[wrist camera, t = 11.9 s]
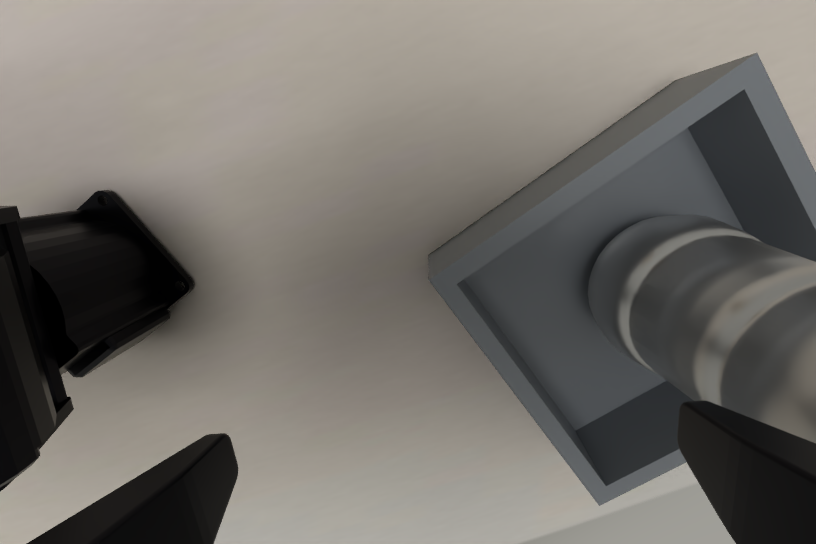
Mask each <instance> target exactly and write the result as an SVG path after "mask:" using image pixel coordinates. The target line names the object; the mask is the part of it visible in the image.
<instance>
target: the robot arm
mask: <svg viewBox="0 0 816 544" xmlns="http://www.w3.org/2000/svg"><path fill="white" fill-rule="evenodd" d="M104 197H106V199H107V201H108V203H107V204H106V203H105V201H104ZM180 281H181V282H183V283H184V285H185V288H183V287H181V285H180ZM193 286H194V284H193V281H192V279H191V278H190V277H189V276H188V275H187V273H186V272H185V271H184V270H183V269H182V268H181V267H180V266H179V265H178V263H177V262H176V261H175V260H174V259H173V258H172V257H171V256H170V254H169V253H168V252H167V251H166V250H165V249H164V248H163V247H162V246H161V244H160V243H159V242H158V241H157V240H156V239H155V238H154V237H153V236H152V234H151V233H150V232H149V231H148V230H147V229H146V228H145V227H144V226H143V224H142V223H141V222H140V221H139V220H138V219H137V218H136V217H135V216H134V214H133V213H132V212H131V211H130V210H129V209H128V208H127V207H126V206H125V204H124V203H123V202H122V201H121V200H120V199H119V198H118V197H117V196H116V194H114V193H113V192H112V191H109V190H103V191H97V192H95V193H94V194H93V195H92V196H91V197H90V198H89V199H88V200H87V201H86V202H85V203H83V204H82V205H81V206H80V207H79V208H78V209H77V210H76V211H69V212H61V213H54V214H46V215H38V216H31V217H23V218H20V216H19V212H18V209H17V206H0V491H1V490H3V489H4V488H5V487H6V486H7V485H8V484H9V483H11V482H12V481H13V480H14V479H15V478H16V477H17V476H19V475H20V474H21V473H22V472H24V471H25V470H26V469H27V468H29V467H30V466H31V465H32V464H33V463H34V462H35V461H36V460H37V459H38V457H39V456H40V452H39V449H40V448H41V447H42V446H43V445H44V444H45V442H46V441H47V440H48V439H49V438H50V437H51V435H52V434H53V433H54V432H55V431H56V429H57V428H58V427H59V426H60V425H61V424H62V422H63V421H64V420H65V419H66V418H67V417H68V415H69V414H70V413H71V412H72V411H73V409H74V408H73V405H72V401H71V398H70V397H67V395H66V391H65V388H64V384H63V381H62V377H61V374H63V373H65V372H66V371H68V372H69V373H70V374H71V375H72V376H73V377H83V376H85V375H87V374H88V373H90V372H92V371H93V370H95V369H96V368H98V367H100V366H101V365H103V364H105V363H106V362H108V361H109V360H111V359H113V358H114V357H116V356H117V355H119V354H121V353H122V352H124V351H126V350H127V349H129V348H130V347H132V346H134V345H135V344H137V343H139V342H140V341H141V340H143V339H144V338H145V337H147V336H148V335H149V334H150V333H152V332H153V331H154V330H155V329H157V328H158V327H159V326H160V325H162V324H163V323H164V322H165V321H167V320H168V319H169V318H170V313H171V312H170V311H169V310H168V309H169V308H170V307H172V306H173V305H174V304H175V303H177V302H178V301H179V300H180V299H182V298H183V297H184V296H185V295H187V294H188V293H189V292H190V291H191V290H192V289H193ZM677 442H678V446H679V449H680V451H681V453H682V455H683V457H684V458H685V460H686V462H687V464H688V465H689V467H690V469H691V470H692V472H693V474H694V475H695V477H696V479H697V480H698V482H699V484H700V485H701V487H702V489H703V491H704V492H705V494H706V496H707V497H708V499H709V501H710V503H711V504H712V506H713V508H714V509H715V511H716V513H717V514H718V516H719V518H720V519H721V521H722V523H723V524H724V526H725V527H726V529H727V531H728V532H729V534H730V535H731V537H732V538H733V540H734V541H735V542H736V544H816V443H814V442H811V441H808V440H806V439H803V438H801V437H798V436H796V435H793V434H791V433H788V432H786V431H783V430H780V429H778V428H775V427H773V426H770V425H768V424H765V423H763V422H760V421H758V420H755V419H753V418H750V417H747V416H745V415H742V414H740V413H737V412H735V411H732V410H730V409H727V408H725V407H722V406H719V405H717V404H714V403H712V402H709V401H705V400H700V401H686V402H683V403H682V404H681V405H680V408H679V418H678V431H677ZM237 476H238V464H237V460H236V457H235V453H234V449H233V446H232V442H231V439H230V437H229V436H228V435H227V434H225V433H222V434H209V435H206V436H204V437H202V438H201V439H199V440H197V441H196V442H194V443H192V444H191V445H189V446H187V447H186V448H184V449H182V450H181V451H179V452H177V453H176V454H174V455H172V456H171V457H169V458H167V459H166V460H164V461H163V462H161V463H159V464H158V465H156V466H154V467H153V468H151V469H149V470H148V471H146V472H144V473H143V474H141V475H139V476H138V477H136V478H134V479H133V480H131V481H129V482H128V483H126V484H124V485H123V486H121V487H120V488H118V489H116V490H115V491H113V492H111V493H110V494H108V495H106V496H105V497H103V498H101V499H100V500H98V501H96V502H95V503H93V504H91V505H90V506H88V507H86V508H85V509H83V510H82V511H80V512H78V513H77V514H75V515H73V516H72V517H70V518H68V519H67V520H65V521H63V522H62V523H60V524H58V525H57V526H55V527H53V528H52V529H50V530H48V531H47V532H45V533H43V534H42V535H40V536H39V537H37V538H35V539H34V540H32V541H30V542H29V543H27V544H214V541H215V538H216V535H217V533H218V530H219V527H220V524H221V522H222V519H223V516H224V513H225V510H226V508H227V505H228V502H229V499H230V497H231V494H232V491H233V488H234V485H235V483H236V480H237Z"/></svg>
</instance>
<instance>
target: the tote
mask: <svg viewBox="0 0 816 544" xmlns="http://www.w3.org/2000/svg"><path fill="white" fill-rule="evenodd" d="M672 215H699V216H707V217H710V218H713V219H716V220H719V221H721V222H724V223H726V224H729V225H731V226H733V227H736V228H738V229H741V230H743V231H745V232H747V233H748V234H750V235H752V236H754V237H755V238H757V239H759V240H760V241H762V242H763V243H765V244H767V245H770V246H773V247H776V248H779V249H781V250H784V251H787V252H790V253H792V254H795V255H798V256H801V257H804V258H806V259H809V260H812V261H815V262H816V172H815V170H814V168H813V166H812V164H811V162H810V160H809V158H808V156H807V154H806V152H805V150H804V148H803V146H802V144H801V142H800V140H799V138H798V136H797V133H796V131H795V129H794V127H793V125H792V123H791V121H790V119H789V117H788V115H787V113H786V111H785V109H784V107H783V105H782V103H781V101H780V99H779V97H778V95H777V93H776V90H775V88H774V86H773V84H772V82H771V80H770V78H769V76H768V74H767V72H766V70H765V68H764V66H763V64H762V62H761V60H760V58H759V56H758V54H757V53H755V54H752V55H749V56H746V57H743V58H740V59H737V60H734V61H731V62H728V63H725V64H722V65H719V66H716V67H713V68H710V69H707V70H704V71H701V72H698V73H695V74H692V75H690V76H687V77H684V78H681V79H678V80H675V81H674V82H672V83H671V84H669V85H668V86H667V87H665V88H664V89H662V90H661V91H660V92H658V93H657V94H655V95H654V96H653V97H651V98H650V99H648V100H647V101H645V102H644V103H643V104H641V105H640V106H638V107H637V108H636V109H634V110H633V111H631V112H630V113H629V114H627V115H626V116H624V117H623V118H621V119H620V120H619V121H617V122H616V123H614V124H613V125H612V126H610V127H609V128H607V129H606V130H605V131H603V132H602V133H600V134H599V135H597V136H596V137H595V138H593V139H592V140H590V141H589V142H588V143H586V144H585V145H583V146H582V147H580V148H579V149H578V150H576V151H575V152H573V153H572V154H571V155H569V156H568V157H566V158H565V159H564V160H562V161H561V162H559V163H558V164H556V165H555V166H554V167H552V168H551V169H549V170H548V171H547V172H545V173H544V174H542V175H541V176H540V177H538V178H537V179H535V180H534V181H532V182H531V183H530V184H528V185H527V186H525V187H524V188H523V189H521V190H520V191H518V192H517V193H515V194H514V195H513V196H511V197H510V198H508V199H507V200H506V201H504V202H503V203H501V204H500V205H499V206H497V207H496V208H494V209H493V210H491V211H490V212H489V213H487V214H486V215H484V216H483V217H482V218H480V219H479V220H477V221H476V222H475V223H473V224H472V225H470V226H469V227H467V228H466V229H465V230H463V231H462V232H460V233H459V234H458V235H456V236H455V237H453V238H452V239H451V240H449V241H448V242H446V243H445V244H443V245H442V246H441V247H439V248H438V249H436V250H435V251H434V252H432V253H431V254H429V255H428V258H429V281H430V282H431V284H432V285H433V286H434V288H435V289H436V290H437V292H438V293H439V294H440V296H441V297H442V298H443V300H444V301H445V302H446V303H447V305H448V306H449V307H450V309H451V310H452V311H453V313H454V314H455V315H456V317H457V318H458V319H459V321H460V322H461V323H462V325H463V326H464V327H465V329H466V330H467V331H468V333H469V334H470V335H471V337H472V338H473V339H474V341H475V342H476V343H477V345H478V346H479V347H480V349H481V350H482V351H483V352H484V354H485V355H486V356H487V358H488V359H489V360H490V362H491V363H492V364H493V366H494V367H495V368H496V370H497V371H498V372H499V374H500V375H501V376H502V378H503V379H504V380H505V382H506V383H507V384H508V386H509V387H510V388H511V390H512V391H513V392H514V394H515V395H516V396H517V398H518V399H519V400H520V401H521V403H522V404H523V405H524V407H525V408H526V409H527V411H528V412H529V413H530V415H531V416H532V417H533V419H534V420H535V421H536V423H537V424H538V425H539V427H540V428H541V429H542V431H543V432H544V433H545V435H546V436H547V437H548V439H549V440H550V441H551V443H552V444H553V445H554V446H555V448H556V449H557V450H558V452H559V453H560V454H561V456H562V457H563V458H564V460H565V461H566V462H567V464H568V465H569V466H570V468H571V469H572V470H573V472H574V473H575V474H576V476H577V477H578V478H579V480H580V481H581V482H582V484H583V485H584V486H585V488H586V489H587V490H588V492H589V493H590V494H591V495H592V497H593V498H594V499H595V501H596V502H597V503H598V505H599V506H600V505H602V504H604V503H606V502H608V501H610V500H612V499H614V498H616V497H618V496H620V495H622V494H624V493H626V492H628V491H630V490H632V489H634V488H636V487H638V486H640V485H642V484H644V483H646V482H648V481H650V480H652V479H654V478H656V477H658V476H660V475H662V474H664V473H666V472H668V471H670V470H672V469H674V468H676V467H678V466H680V465H682V464H684V463H686V460H685V458H684V457H683V455H682V453H681V451H680V449H679V446H678V442H677V431H678V418H679V408H680V405H681V404H682V403H683V402H686V401H694V400H692V399H691V398H690V397H688V396H687V395H686V394H684V393H683V392H682V391H680V390H679V389H678V388H676V387H675V386H674V385H672V384H671V383H670V382H668V381H667V380H666V379H664V378H663V377H662V376H660V375H658V374H656V373H654V372H652V371H650V370H649V369H647V368H645V367H643V366H641V365H640V364H638V363H636V362H635V361H633V360H632V359H630V358H629V357H627V356H626V355H624V354H623V353H621V352H620V351H618V350H617V349H616V348H615V347H614V346H613V345H612V344H611V343H610V342H609V341H608V340H607V339H606V337H605V336H604V334H603V333H602V331H601V330H600V328H599V326H598V324H597V322H596V320H595V318H594V317H593V314H592V311H591V309H590V306H589V299H588V285H589V279H590V275H591V271H592V268H593V266H594V264H595V262H596V260H597V258H598V256H599V255H600V253H601V252H602V251H603V249H604V248H605V247H606V245H607V244H608V243H609V242H610V241H611V240H612V239H613V238H615V237H616V236H617V235H618V234H619V233H621V232H622V231H624V230H625V229H627V228H628V227H629V226H632V225H634V224H636V223H638V222H640V221H642V220H646V219H650V218H653V217H657V216H672Z"/></svg>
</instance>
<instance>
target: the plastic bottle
mask: <svg viewBox="0 0 816 544" xmlns="http://www.w3.org/2000/svg"><path fill="white" fill-rule="evenodd" d="M588 299H589V306H590V309H591V311H592V314H593V317H594V318H595V320H596V322H597V324H598V326H599V328H600V330H601V331H602V333H603V334H604V336H605V337H606V339H607V340H608V341H609V342H610V343H611V344H612V345H613V346H614V347H615V348H616V349H617V350H618V351H620V352H621V353H623V354H624V355H626V356H627V357H629V358H630V359H632V360H633V361H635V362H636V363H638V364H640V365H641V366H643V367H645V368H647V369H649V370H650V371H652V372H654V373H656V374H658V375H660V376H662V377H663V378H664V379H666V380H667V381H668V382H670V383H671V384H672V385H674V386H675V387H676V388H678V389H679V390H680V391H682V392H683V393H684V394H686V395H687V396H688V397H690V398H691V399H692V400H694V401H700V400H705V401H709V402H712V403H714V404H717V405H719V406H722V407H725V408H727V409H730V410H732V411H735V412H737V413H740V414H742V415H745V416H747V417H750V418H753V419H755V420H758V421H760V422H763V423H765V424H768V425H770V426H773V427H775V428H778V429H780V430H783V431H786V432H788V433H791V434H793V435H796V436H798V437H801V438H803V439H806V440H808V441H811V442H814V443H816V262H815V261H812V260H809V259H806V258H804V257H801V256H798V255H795V254H792V253H790V252H787V251H784V250H781V249H779V248H776V247H773V246H770V245H767V244H765V243H763V242H762V241H760V240H759V239H757V238H755V237H754V236H752V235H750V234H748V233H747V232H745V231H743V230H741V229H738V228H736V227H733V226H731V225H729V224H726V223H724V222H721V221H719V220H716V219H713V218H710V217H707V216H699V215H672V216H657V217H653V218H650V219H646V220H642V221H640V222H638V223H636V224H634V225H632V226H629V227H628V228H627V229H625V230H624V231H622V232H621V233H619V234H618V235H617V236H616V237H615V238H613V239H612V240H611V241H610V242H609V243H608V244H607V245H606V247H605V248H604V249H603V251H602V252H601V253H600V255H599V256H598V258H597V260H596V262H595V264H594V266H593V268H592V271H591V275H590V279H589V285H588Z"/></svg>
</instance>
